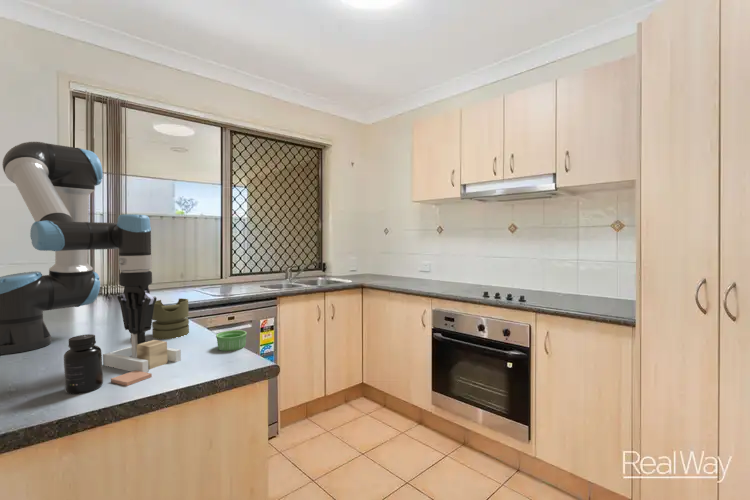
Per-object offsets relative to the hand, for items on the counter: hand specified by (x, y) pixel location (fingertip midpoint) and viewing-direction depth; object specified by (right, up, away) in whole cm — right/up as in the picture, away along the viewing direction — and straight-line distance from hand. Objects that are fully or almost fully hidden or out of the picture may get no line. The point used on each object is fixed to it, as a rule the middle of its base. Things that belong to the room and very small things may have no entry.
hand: (138, 355), depth 103 cm
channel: (+1, -2, -1) cm, 2 cm away
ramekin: (+21, -2, +14) cm, 25 cm away
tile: (+6, -2, -12) cm, 14 cm away
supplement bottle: (-1, -3, -18) cm, 18 cm away
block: (+5, -2, -2) cm, 6 cm away
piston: (-7, -1, +29) cm, 29 cm away
